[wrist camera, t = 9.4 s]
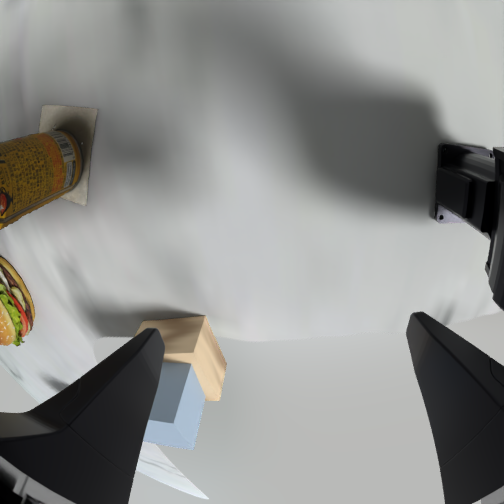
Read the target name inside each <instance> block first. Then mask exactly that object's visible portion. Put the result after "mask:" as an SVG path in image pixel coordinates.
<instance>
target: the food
mask: <svg viewBox="0 0 504 504" xmlns="http://www.w3.org/2000/svg"><path fill="white" fill-rule="evenodd" d="M34 318H35V312H34V306H33V303H32V299H31V296H30V295H29V293H28V291H27V289H26V287H25V285H24V283H23V281H22V279H21V278H20V277H19V275H18V274H17V273H16V271H15V270H14V268H13V267H12V266H11V265H10V264H9V263H8V262H7V261H6V260H5V259H3V258H1V257H0V345H4V346H5V345H9V344H11V343H13V344H15V345H16V346H19V345H20V342H21V343H24V341H22V337H24V336H25V335H28V334H29V331H31V330H32V326H33V321H34Z"/></svg>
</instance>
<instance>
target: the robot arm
mask: <svg viewBox="0 0 504 504" xmlns="http://www.w3.org/2000/svg"><path fill="white" fill-rule="evenodd" d="M444 147H445V149H446V150H445V152H444V151H443V149H444ZM489 154H490V157H489ZM494 156H495V159H494ZM440 215H442V216H441V218H440V219H439V216H440ZM435 220H436V221H437V222H439V223H461V222H466V223H468V224H469V225H470V226H472V227H473V228H475V229H476V230H477V231H479V232H480V233H481V234H483V235H484V236H485V237H487V238H488V239H489V240H491V242H490V249H489V256H488V261H487V262H486V266H485V270H486V273H487V275H488V277H489V285H490V288H491V290H492V292H493V300H494V301H495V303H496V304H497V305H498V306H499V307H500V308H501V309H502V310H503V311H504V147H493V151H491V150H488V149H482V148H476V147H470V146H463V145H455V144H447V143H441V144H440V145H439V148H438V170H437V185H436V207H435ZM406 336H407V339H408V344H409V348H410V353H411V357H412V362H413V366H414V370H415V374H416V377H417V380H418V384H419V387H420V390H421V393H422V396H423V400H424V403H425V407H426V410H427V414H428V417H429V421H430V425H431V429H432V433H433V437H434V442H435V446H436V451H437V455H438V461H439V466H440V472H441V478H442V484H443V491H444V499H445V504H472V503H474V502H476V501H478V500H480V499H481V503H482V504H504V366H503V365H501V364H499V363H498V362H497V361H495V360H494V359H493V358H490V357H489V356H488V355H487V354H485V353H484V352H482V351H481V350H479V349H478V348H477V347H475V346H474V345H472V344H471V343H469V342H468V341H466V340H465V339H463V338H462V337H460V336H459V335H457V334H456V333H454V332H453V331H452V330H450V329H448V328H447V327H445V326H444V325H442V324H441V323H439V322H438V321H436V320H435V319H433V318H432V317H430V316H429V315H427V314H426V313H424V312H414V313H412V314H411V316H410V320H409V323H408V327H407V331H406ZM164 353H165V344H164V341H163V339H162V336H161V334H160V332H159V330H158V329H157V328H146V329H144V330H143V331H142V332H140V333H139V334H138V335H136V336H135V337H134V338H132V339H131V340H130V341H129V342H127V343H126V344H124V345H123V346H122V347H120V348H119V349H118V350H116V351H115V352H114V353H112V354H111V355H110V356H108V357H107V358H106V359H104V360H103V361H102V362H100V363H99V364H98V365H96V366H95V367H94V368H92V369H91V370H90V371H88V372H87V373H86V374H84V375H83V376H82V377H81V378H79V379H78V380H76V381H75V382H74V383H72V384H71V385H69V386H68V387H67V388H65V389H64V390H62V391H61V392H59V393H58V394H56V395H55V396H53V397H51V398H50V399H48V400H47V401H45V402H43V403H42V404H40V405H39V406H37V407H35V408H34V409H32V410H30V411H27V412H24V413H4V412H0V504H128V501H129V497H130V492H131V488H132V483H133V478H134V474H135V470H136V466H137V462H138V458H139V454H140V450H141V446H142V442H143V439H144V435H145V431H146V427H147V424H148V420H149V417H150V413H151V409H152V406H153V402H154V399H155V396H156V392H157V389H158V385H159V380H160V375H161V369H162V364H163V358H164Z"/></svg>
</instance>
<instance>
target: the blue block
mask: <svg viewBox="0 0 504 504" xmlns="http://www.w3.org/2000/svg"><path fill="white" fill-rule="evenodd" d="M205 398H206V396H205V394H204V392H203V389H202V387H201V385H200V383H199V380H198V378H197V376H196V373H195V371H194V369H193V366H192V364H186V363H168V362H163V364H162V369H161V375H160V380H159V385H158V389H157V392H156V396H155V399H154V402H153V406H152V409H151V413H150V417H149V420H148V424H147V427H146V431H145V435H144V439H143V441H145V442H150V443H154V444H160V445H165V446H171V447H177V448H183V449H191V450H194V446H195V442H196V437H197V433H198V428H199V424H200V419H201V415H202V410H203V406H204V402H205Z"/></svg>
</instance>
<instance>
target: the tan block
mask: <svg viewBox="0 0 504 504" xmlns="http://www.w3.org/2000/svg"><path fill="white" fill-rule="evenodd" d="M146 328H157V329H158V330H159V332H160V334H161V336H162V339H163V341H164V344H165V353H164V358H163V362H168V363H186V364H192V366H193V369H194V371H195V373H196V376H197V378H198V380H199V383H200V385H201V387H202V389H203V392H204V394H205V396H206V398H205V401H219V400H220V396H221V391H222V385H223V380H224V375H225V370H226V365H227V363H226V361H225V358H224V356H223V354H222V351H221V349H220V347H219V344H218V342H217V340H216V337H215V336H214V335H213V332H212V330H211V328H210V325H209V323H208V320H207V318H206V316H196V317H186V318H175V319H163V320H150V321H143V322H142V324H141V325H140V327H139V329H138V331H137V332H136V334H135V336H136V335H138V334H139V333H140V332H142V331H143V330H144V329H146ZM135 336H134V337H135Z"/></svg>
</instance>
